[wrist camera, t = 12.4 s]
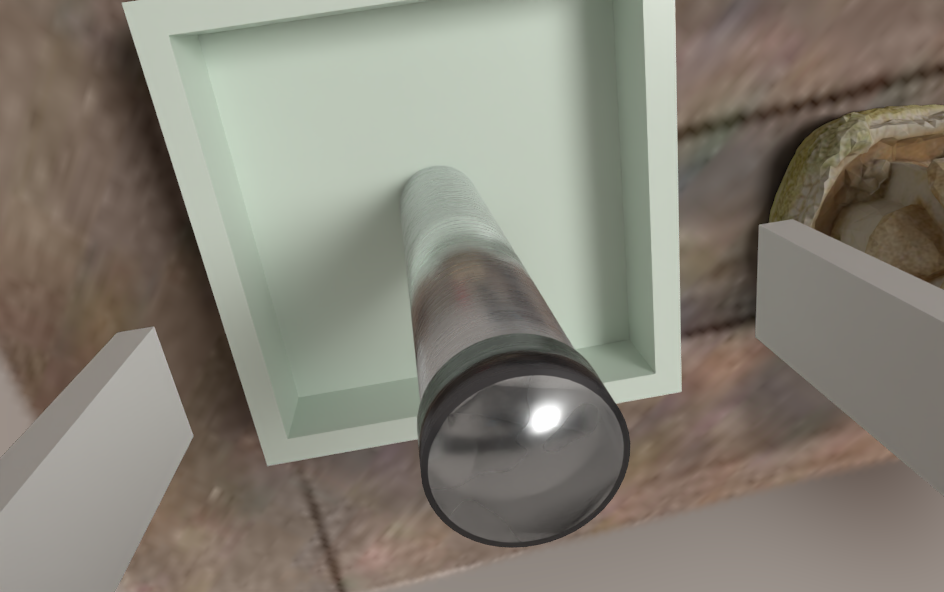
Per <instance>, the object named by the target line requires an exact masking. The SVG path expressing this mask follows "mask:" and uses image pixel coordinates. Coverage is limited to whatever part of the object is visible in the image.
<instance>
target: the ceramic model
mask: <svg viewBox="0 0 944 592" xmlns="http://www.w3.org/2000/svg"><path fill="white" fill-rule="evenodd" d="M790 219H794V220H796V221H798V222H800V223H802V224H804V225H806V226H808V227H811V228H813V229H815V230H817V231H819V232H821V233H823V234H825V235H828V236H830V237H832V238H834V239H836V240H838V241H840V242H843V243H845V244H847V245H849V246H851V247H853V248H855V249H857V250H860V251H862V252H864V253H866V254H868V255H870V256H872V257H875V258H877V259H879V260H881V261H883V262H885V263H887V264H889V265H892V266H894V267H896V268H898V269H900V270H902V271H904V272H906V273H909V274H911V275H913V276H915V277H917V278H919V279H921V280H924V281H926V282H928V283H930V284H932V285H934V286H936V287H938V288H941V289H943V290H944V105H925V106H919V105H909V106H887V107H885V108H876V109H871V110H866V111H861V112H852V113H849V114H846V115H844V116H842V117H841V118H838V119H836V120H833V121H831V122H828V123H826V124H824V125H823V126H821V127H819V128H817V129H816V130H814V131H813V132H812V133H811V134H810V135H809V136H808V137H807V138H805V139H804V140H803V142H802V143H801V144H800V145H799V147H798V148H797V150H796V153H795V155H794V156H793V158H792V160H791V162H790V164H789V166H788V168H787V170H786V173H785V175H784V177H783V180H782V182H781V184H780V187H779V189H778V191H777V193H776V196H775V199H774V202H773V205H772V208H771V211H770V217H769V223H772V222H778V221H784V220H790Z"/></svg>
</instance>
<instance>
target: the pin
mask: <svg viewBox="0 0 944 592" xmlns="http://www.w3.org/2000/svg"><path fill="white" fill-rule="evenodd" d="M400 216H401V226H402V235H403V244H404V254H405V263H406V273H407V282H408V291H409V301H410V310H411V320H412V329H413V338H414V348H415V357H416V367H417V376H418V385H419V395H420V405H419V410H418V415H417V435H418V446H419V457H420V468H421V477H422V484H423V488H424V491H425V495H426V497H427V499H428V501H429V503H430V505H431V507H432V508H433V510H434V511H435V513H436V514H437V515H438V516H439V517H440V519H441V520H442V521H443V522H444V523H445V524H447V525H448V526H449V527H450V528H452V529H453V530H454V531H456V532H458V533H459V534H461V535H463V536H464V537H467V538H469V539H471V540H474V541H476V542H480V543H483V544H487V545H492V546H498V547H527V546H534V545H539V544H543V543H547V542H551V541H553V540H556V539H559V538H562V537H564V536H566V535H568V534H570V533H572V532H574V531H576V530H577V529H579V528H581V527H582V526H584V525H585V524H587V523H588V522H589V521H591V520H592V519H593V518H594V517H596V516H597V515H598V514H599V513H600V512H601V511H602V510H603V509H604V508H605V507H606V506H607V504H608V503H609V502H610V501H611V499H612V498H613V497H614V495H615V494H616V492H617V490H618V489H619V487H620V485H621V483H622V481H623V479H624V476H625V473H626V470H627V467H628V462H629V456H630V439H629V432H628V428H627V425H626V422H625V419H624V417H623V415H622V413H621V411H620V409H619V408H618V406H617V405H616V403H615V402H614V400H613V398H612V397H611V395H610V394H609V392H608V390H607V389H606V387H605V386H604V384H603V383H602V381H601V379H600V378H599V376H598V375H597V373H596V372H595V370H594V369H593V367H592V366H591V364H590V363H589V362H588V361H587V360H586V359H585V358H584V357H583V356H582V355H581V354H580V353H579V352H577V351H576V350H575V349H574V347H573V346H572V344H571V342H570V341H569V339H568V337H567V336H566V334H565V333H564V331H563V329H562V328H561V326H560V324H559V323H558V321H557V319H556V318H555V316H554V315H553V313H552V311H551V310H550V308H549V306H548V305H547V303H546V302H545V300H544V298H543V297H542V295H541V293H540V292H539V290H538V288H537V287H536V285H535V284H534V282H533V280H532V279H531V277H530V275H529V274H528V272H527V271H526V269H525V267H524V266H523V264H522V262H521V261H520V259H519V257H518V256H517V254H516V253H515V251H514V249H513V248H512V246H511V244H510V243H509V241H508V240H507V238H506V236H505V235H504V233H503V231H502V230H501V228H500V226H499V225H498V223H497V222H496V220H495V218H494V217H493V215H492V213H491V212H490V210H489V208H488V207H487V205H486V204H485V202H484V200H483V199H482V197H481V195H480V194H479V192H478V191H477V189H476V187H475V186H474V184H473V183H472V181H471V180H470V179H469V178H468V177H467V176H466V175H465V174H464V173H462V172H461V171H459V170H457V169H455V168H452V167H448V166H431V167H428V168H425V169H422V170H421V171H419V172H417V173H416V174H414V175H413V176H412V177H411V178H410V179H409V180H408V182H407V183H406V185H405V186H404V188H403V190H402V193H401V197H400Z"/></svg>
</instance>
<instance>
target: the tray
mask: <svg viewBox="0 0 944 592" xmlns="http://www.w3.org/2000/svg"><path fill="white" fill-rule="evenodd" d="M122 6H123V9H124V12H125V15H126V18H127V22H128V25H129V28H130V31H131V34H132V37H133V41H134V44H135V47H136V50H137V53H138V56H139V60H140V63H141V66H142V69H143V72H144V76H145V79H146V82H147V85H148V88H149V91H150V95H151V98H152V101H153V104H154V107H155V110H156V114H157V117H158V120H159V123H160V126H161V130H162V133H163V136H164V139H165V142H166V145H167V149H168V152H169V155H170V158H171V161H172V164H173V168H174V171H175V174H176V177H177V180H178V183H179V187H180V190H181V193H182V196H183V199H184V203H185V206H186V209H187V212H188V215H189V218H190V222H191V225H192V228H193V231H194V234H195V237H196V241H197V244H198V247H199V250H200V253H201V257H202V260H203V263H204V266H205V269H206V272H207V276H208V279H209V282H210V285H211V288H212V291H213V295H214V298H215V301H216V304H217V307H218V310H219V314H220V317H221V320H222V323H223V326H224V330H225V333H226V336H227V339H228V342H229V345H230V349H231V352H232V355H233V358H234V361H235V364H236V368H237V371H238V374H239V377H240V380H241V383H242V387H243V390H244V393H245V396H246V399H247V403H248V406H249V409H250V412H251V415H252V418H253V422H254V425H255V428H256V431H257V434H258V437H259V441H260V444H261V447H262V450H263V453H264V457H265V460H266V463H267V466H271V465H276V464H282V463H287V462H293V461H299V460H304V459H310V458H315V457H321V456H326V455H332V454H338V453H343V452H349V451H354V450H360V449H365V448H371V447H377V446H382V445H388V444H393V443H399V442H404V441H410V440H416V439H418V435H417V415H418V410H419V405H420V395H419V385H418V376H417V367H416V357H415V348H414V338H413V329H412V320H411V310H410V301H409V291H408V282H407V273H406V263H405V254H404V244H403V235H402V226H401V216H400V197H401V193H402V190H403V188H404V186H405V185H406V183H407V182H408V180H409V179H410V178H411V177H412V176H413V175H414V174H416V173H417V172H419V171H421V170H422V169H425V168H428V167H431V166H448V167H452V168H455V169H457V170H459V171H461V172H462V173H464V174H465V175H466V176H467V177H468V178H469V179H470V180H471V181H472V183H473V184H474V186H475V187H476V189H477V191H478V192H479V194H480V195H481V197H482V199H483V200H484V202H485V204H486V205H487V207H488V208H489V210H490V212H491V213H492V215H493V217H494V218H495V220H496V222H497V223H498V225H499V226H500V228H501V230H502V231H503V233H504V235H505V236H506V238H507V240H508V241H509V243H510V244H511V246H512V248H513V249H514V251H515V253H516V254H517V256H518V257H519V259H520V261H521V262H522V264H523V266H524V267H525V269H526V271H527V272H528V274H529V275H530V277H531V279H532V280H533V282H534V284H535V285H536V287H537V288H538V290H539V292H540V293H541V295H542V297H543V298H544V300H545V302H546V303H547V305H548V306H549V308H550V310H551V311H552V313H553V315H554V316H555V318H556V319H557V321H558V323H559V324H560V326H561V328H562V329H563V331H564V333H565V334H566V336H567V337H568V339H569V341H570V342H571V344H572V346H573V347H574V349H575V350H576V351H577V352H579V353H580V354H581V355H582V356H583V357H584V358H585V359H586V360H587V361H588V362H589V363H590V364H591V366H592V367H593V369H594V370H595V372H596V373H597V375H598V376H599V378H600V379H601V381H602V383H603V384H604V386H605V387H606V389H607V390H608V392H609V394H610V395H611V397H612V398H613V400H614V402H615V403H622V402H627V401H633V400H638V399H644V398H650V397H655V396H661V395H666V394H672V393H678V392H682V386H681V327H680V268H679V210H678V151H677V92H676V33H675V0H138V1H131V2H124V3H122Z"/></svg>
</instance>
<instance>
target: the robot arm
mask: <svg viewBox="0 0 944 592" xmlns="http://www.w3.org/2000/svg"><path fill="white" fill-rule="evenodd" d="M755 337H756V338H757V339H758V340H759V341H761V342H762V343H763V344H764V345H765V346H767V347H768V348H769V349H770V350H771V351H772V352H774V353H775V354H776V355H777V356H778V357H780V358H781V359H782V360H783V361H784V362H785V363H787V364H788V365H789V366H790V367H791V368H793V369H794V370H795V371H796V372H797V373H798V374H800V375H801V376H802V377H803V378H804V379H806V380H807V381H808V382H809V383H810V384H811V385H813V386H814V387H815V388H816V389H817V390H819V391H820V392H821V393H822V394H823V395H824V396H826V397H827V398H828V399H829V400H830V401H832V402H833V403H834V404H835V405H836V406H837V407H839V408H840V409H841V410H842V411H843V412H845V413H846V414H847V415H848V416H849V417H850V418H852V419H853V420H854V421H855V422H856V423H858V424H859V425H860V426H861V427H862V428H863V429H865V430H866V431H867V432H868V433H869V434H871V435H872V436H873V437H874V438H875V439H876V440H878V441H879V442H880V443H881V444H882V445H884V446H885V447H886V448H887V449H888V450H889V451H891V452H892V453H893V454H894V455H895V456H897V457H898V458H899V459H900V460H901V461H902V462H904V463H905V464H906V465H907V466H908V467H910V468H911V469H912V470H913V471H914V472H915V473H917V474H918V475H919V476H920V477H922V478H923V479H924V480H925V481H926V482H927V483H929V484H930V485H931V486H932V487H933V488H934V489H936V490H937V491H938V492H939V493H940V494H941V495H943V496H944V290H943V289H941V288H938V287H936V286H934V285H932V284H930V283H928V282H926V281H924V280H921V279H919V278H917V277H915V276H913V275H911V274H909V273H906V272H904V271H902V270H900V269H898V268H896V267H894V266H892V265H889V264H887V263H885V262H883V261H881V260H879V259H877V258H875V257H872V256H870V255H868V254H866V253H864V252H862V251H860V250H857V249H855V248H853V247H851V246H849V245H847V244H845V243H843V242H840V241H838V240H836V239H834V238H832V237H830V236H828V235H825V234H823V233H821V232H819V231H817V230H815V229H813V228H811V227H808V226H806V225H804V224H802V223H800V222H798V221H796V220H794V219H790V220H784V221H778V222H772V223H766V224H760V225H759V237H758V268H757V300H756V331H755ZM192 438H193V433H192V430H191V428H190V425H189V422H188V419H187V417H186V414H185V411H184V408H183V405H182V403H181V400H180V397H179V394H178V392H177V389H176V386H175V383H174V380H173V378H172V375H171V372H170V369H169V367H168V364H167V361H166V358H165V355H164V353H163V350H162V347H161V344H160V342H159V339H158V336H157V333H156V330H155V328H154V327H148V328H142V329H136V330H130V331H124V332H118V333H116V334H115V335H114V336H113V338H112V339H111V340H110V341H109V342H108V343H107V344H106V345H105V346H104V347H103V348H102V349H101V350H100V351H99V353H98V354H97V355H96V356H95V357H94V358H93V359H92V360H91V361H90V362H89V363H88V364H87V365H86V366H85V368H84V369H83V370H82V371H81V372H80V373H79V374H78V375H77V376H76V377H75V378H74V379H73V380H72V381H71V383H70V384H69V385H68V386H67V387H66V388H65V389H64V390H63V391H62V392H61V393H60V394H59V395H58V396H57V398H56V399H55V400H54V401H53V402H52V403H51V404H50V405H49V406H48V407H47V408H46V409H45V410H44V412H43V413H42V414H41V415H40V416H39V417H38V418H37V419H36V420H35V421H34V422H33V423H32V424H31V425H30V427H29V428H28V429H27V430H26V431H25V432H24V433H23V434H22V435H21V436H20V437H19V438H18V439H17V440H16V442H15V443H14V444H13V445H12V446H11V447H10V448H9V449H8V450H7V451H6V452H5V453H4V455H2V457H1V458H0V592H115V591H116V589H117V587H118V585H119V583H120V581H121V579H122V577H123V575H124V573H125V571H126V569H127V567H128V565H129V563H130V561H131V559H132V557H133V555H134V553H135V551H136V549H137V547H138V545H139V543H140V541H141V539H142V537H143V535H144V533H145V531H146V529H147V527H148V525H149V523H150V521H151V519H152V517H153V515H154V514H155V512H156V510H157V508H158V506H159V504H160V502H161V500H162V498H163V496H164V494H165V492H166V490H167V488H168V486H169V484H170V482H171V480H172V478H173V476H174V474H175V472H176V470H177V468H178V466H179V464H180V462H181V460H182V458H183V456H184V454H185V452H186V450H187V448H188V446H189V444H190V442H191V440H192Z"/></svg>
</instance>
